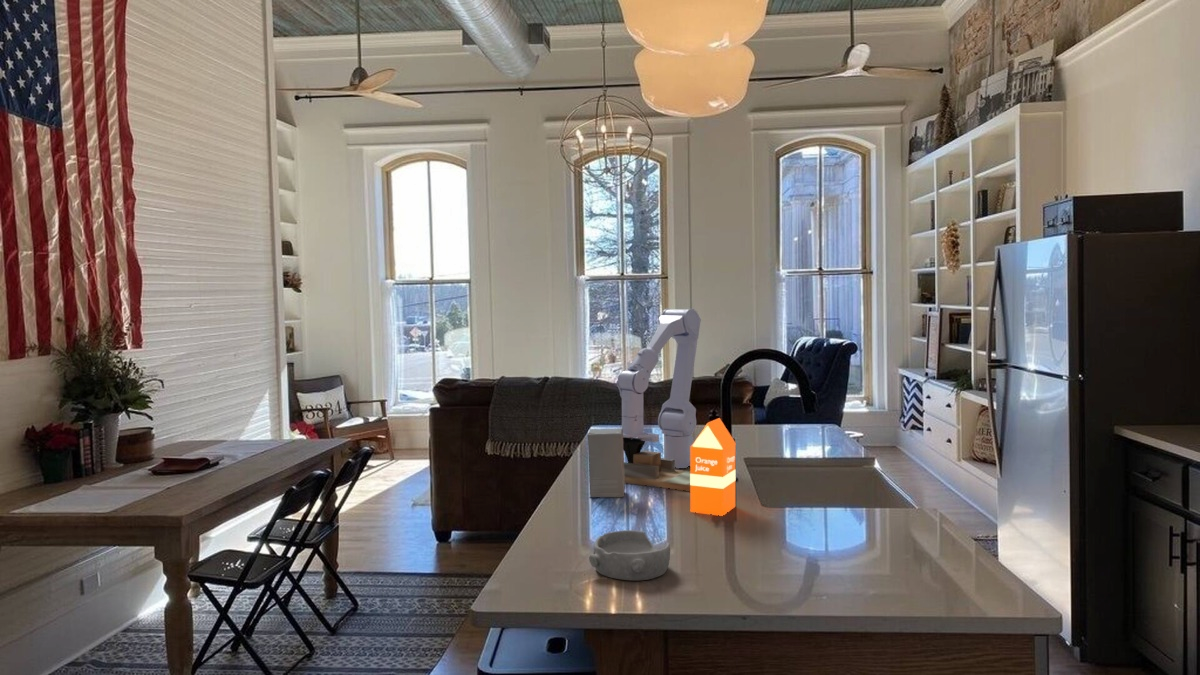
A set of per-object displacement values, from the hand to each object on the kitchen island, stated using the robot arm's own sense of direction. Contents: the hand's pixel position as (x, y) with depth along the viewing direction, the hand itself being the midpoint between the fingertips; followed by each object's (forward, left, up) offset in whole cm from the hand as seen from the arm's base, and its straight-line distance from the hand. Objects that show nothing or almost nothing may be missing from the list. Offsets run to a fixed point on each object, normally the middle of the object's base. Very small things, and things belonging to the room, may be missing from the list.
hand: (632, 466), depth 207 cm
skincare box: (+20, +4, -3) cm, 20 cm away
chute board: (0, +8, -3) cm, 8 cm away
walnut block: (0, +4, -1) cm, 4 cm away
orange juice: (+19, +31, -3) cm, 36 cm away
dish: (+62, +33, -3) cm, 70 cm away
